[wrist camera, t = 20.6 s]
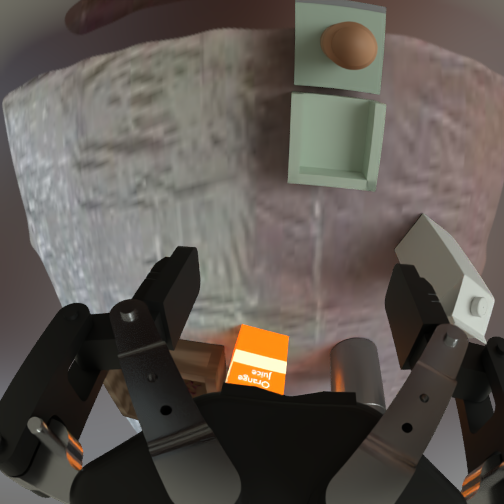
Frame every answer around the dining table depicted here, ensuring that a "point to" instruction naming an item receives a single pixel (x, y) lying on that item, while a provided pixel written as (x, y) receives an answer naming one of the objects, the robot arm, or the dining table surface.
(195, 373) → the planter frame
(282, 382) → the orange juice
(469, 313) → the milk carton
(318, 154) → the crate
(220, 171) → the dining table surface
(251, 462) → the robot arm
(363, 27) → the brown ridged cylinder
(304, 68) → the panel
